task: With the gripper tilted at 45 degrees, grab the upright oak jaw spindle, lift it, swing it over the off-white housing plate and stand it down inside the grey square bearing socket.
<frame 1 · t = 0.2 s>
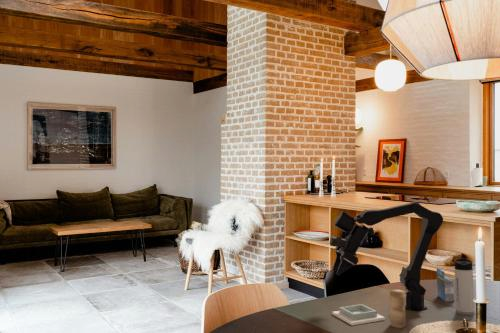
hand: (335, 272, 188), 15 cm above the table, tool tilted 35°, fingers open, 9 cm apart
label tape box: (445, 299, 199), on the table
jaw spindle: (398, 325, 168), on the table
housing: (358, 317, 179), on the table
travel mug: (465, 313, 180), on the table
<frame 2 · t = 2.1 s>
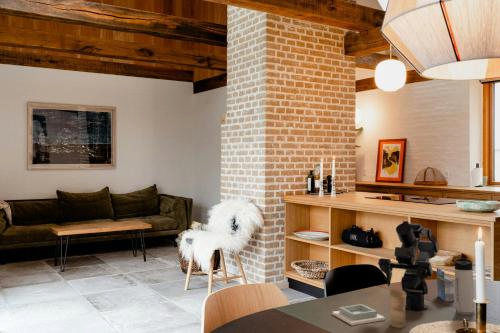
hand: (400, 286, 172), 13 cm above the table, tool tilted 45°, fingers open, 9 cm apart
nothing on the table moved.
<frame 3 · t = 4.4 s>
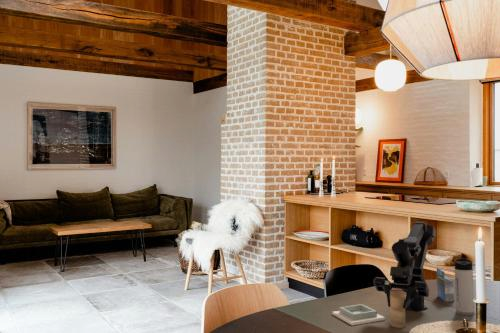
hand: (396, 307, 167), 7 cm above the table, tool tilted 45°, fingers closed on jaw spindle, 5 cm apart
jaw spindle: (398, 325, 168), on the table, touching gripper
everything else where it was.
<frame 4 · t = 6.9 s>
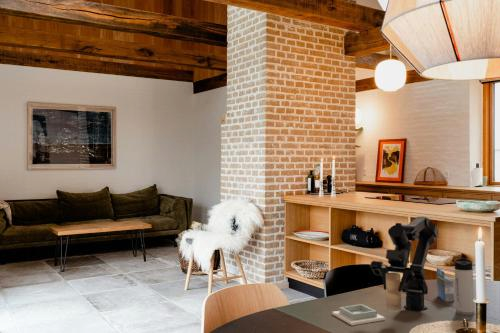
hand: (391, 290, 168), 13 cm above the table, tool tilted 45°, fingers closed on jaw spindle, 5 cm apart
jaw spindle: (394, 308, 169), point 6 cm above the table, touching gripper
everything else where it was.
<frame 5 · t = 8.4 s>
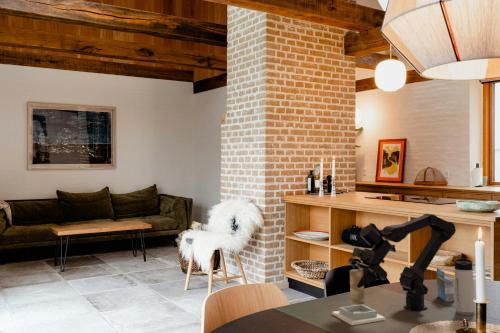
hand: (353, 285, 178), 12 cm above the table, tool tilted 45°, fingers closed on jaw spindle, 5 cm apart
jaw spindle: (357, 302, 179), point 5 cm above the table, touching gripper
everything else where it was.
when the fingers open (9 cm above the table, at t = 9.5 s): jaw spindle stays where it is, resting on housing.
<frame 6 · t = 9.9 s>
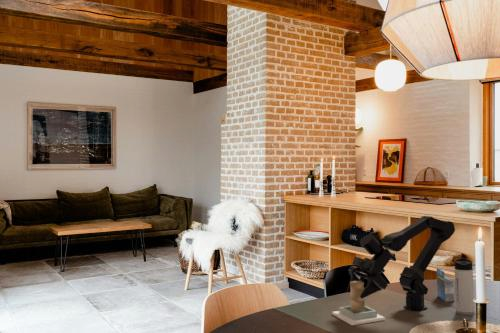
hand: (354, 294, 178), 9 cm above the table, tool tilted 45°, fingers open, 9 cm apart
jaw spindle: (358, 314, 179), point 1 cm above the table, touching housing
everything else where it was.
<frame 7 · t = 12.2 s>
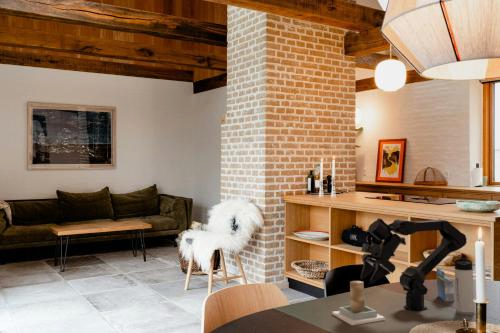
hand: (365, 280, 182), 13 cm above the table, tool tilted 40°, fingers open, 9 cm apart
nothing on the table moved.
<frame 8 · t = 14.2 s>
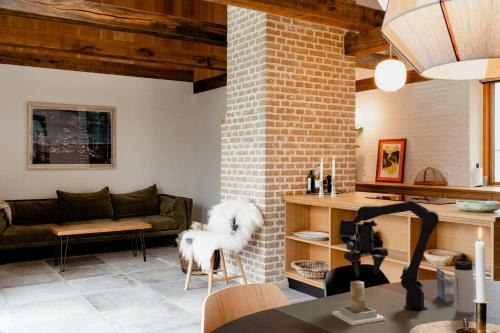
hand: (366, 274, 195), 12 cm above the table, tool pointing down, fingers open, 9 cm apart
nothing on the table moved.
at the end: jaw spindle 0.0 cm off-centre on the housing, point 1.0 cm above the housing's base; jaw spindle tilted 0°; the gripper is holding nothing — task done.
